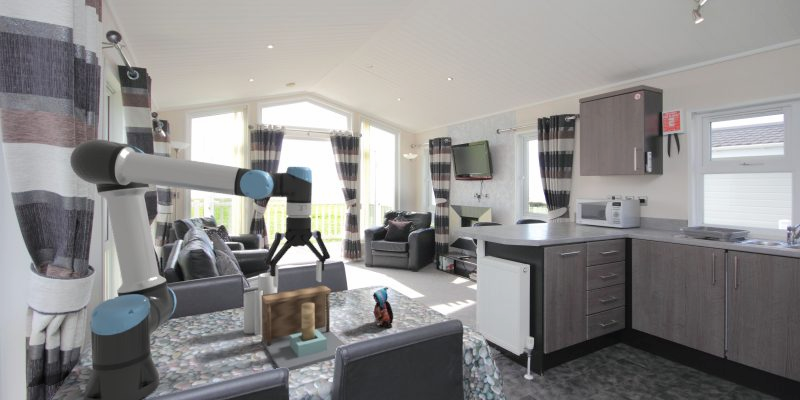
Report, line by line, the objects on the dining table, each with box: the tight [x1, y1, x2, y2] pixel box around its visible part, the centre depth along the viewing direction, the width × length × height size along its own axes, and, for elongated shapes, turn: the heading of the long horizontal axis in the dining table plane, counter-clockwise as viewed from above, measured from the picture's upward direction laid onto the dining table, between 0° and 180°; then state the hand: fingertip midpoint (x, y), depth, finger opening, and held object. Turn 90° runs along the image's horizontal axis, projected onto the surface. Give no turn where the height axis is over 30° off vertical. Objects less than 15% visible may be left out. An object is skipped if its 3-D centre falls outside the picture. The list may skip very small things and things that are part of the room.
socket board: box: [261, 327, 347, 372], centre depth 116 cm, size 22×24×4 cm
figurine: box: [372, 286, 394, 329], centre depth 134 cm, size 10×7×15 cm
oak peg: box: [301, 303, 315, 342], centre depth 113 cm, size 4×4×14 cm
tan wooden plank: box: [261, 285, 332, 346], centre depth 123 cm, size 22×6×16 cm, turn 123°
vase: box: [243, 272, 278, 336], centre depth 129 cm, size 11×7×20 cm, turn 123°
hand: (297, 283), depth 112 cm, fingers open, 13 cm apart
